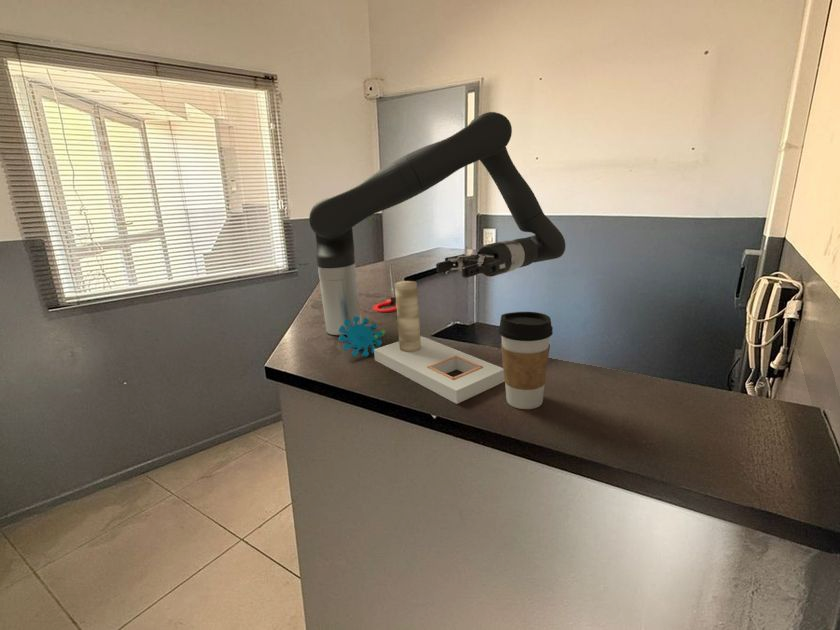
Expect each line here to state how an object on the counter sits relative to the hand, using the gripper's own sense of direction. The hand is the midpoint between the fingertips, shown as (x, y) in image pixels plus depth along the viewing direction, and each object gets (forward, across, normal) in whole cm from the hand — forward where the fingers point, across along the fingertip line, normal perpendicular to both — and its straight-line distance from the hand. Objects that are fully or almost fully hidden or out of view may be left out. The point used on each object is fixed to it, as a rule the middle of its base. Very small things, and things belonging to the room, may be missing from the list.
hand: (449, 270), depth 95 cm
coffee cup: (+9, +28, +18) cm, 34 cm away
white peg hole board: (+12, +8, +17) cm, 22 cm away
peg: (+12, 0, +14) cm, 19 cm away
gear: (+17, -12, +17) cm, 27 cm away
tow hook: (-6, -36, +17) cm, 40 cm away
